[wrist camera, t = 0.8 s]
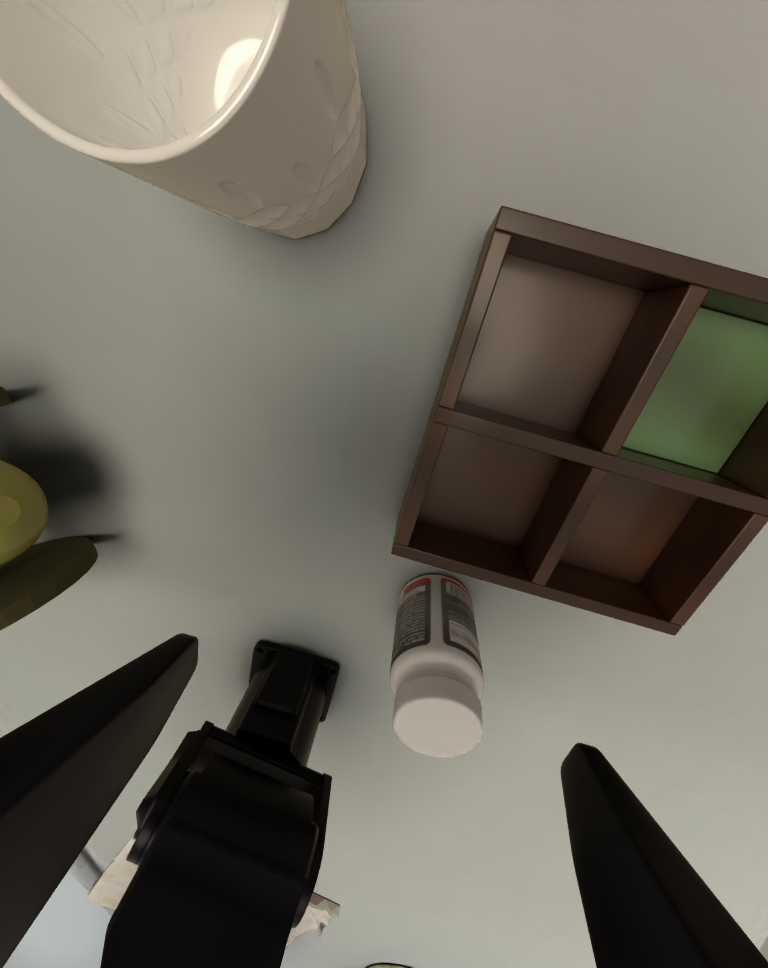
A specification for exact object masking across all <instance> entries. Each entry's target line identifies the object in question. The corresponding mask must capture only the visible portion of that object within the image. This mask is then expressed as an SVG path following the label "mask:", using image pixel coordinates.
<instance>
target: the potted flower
mask: <svg viewBox="0 0 768 968" xmlns="http://www.w3.org/2000/svg"><path fill="white" fill-rule="evenodd" d="M135 833H136V832H135ZM134 835H135V834H134ZM134 835H133V836H132V837H131V839H130V840H129V841H128V842H127V844H126V845H125V846H124V848H123V849H122V850H121V852H120V853H119V854H118V855H117V856H116V858H115V859H114V861H115V862H112V863H111V864H110V865H109V866H108V868H107V869H106V870H105V871H104V873H103V874H102V875H101V876H100V878H99V879H98V880H97V882H96V883H95V884H94V886H93V887H92V888H91V890H90V892H89V893H88V895H87V897H86V899H89V900H91V901H93V902H96V903H98V904H100V905H102V906H105V907H108V908H112V909H113V910H116V908H117V906H118V904H119V902H120V900H121V899H122V897H123V895H124V893H125V891H126V889H127V887H128V886H129V884H130V882H131V880H132V878H133V876H134V875H135V873H136V871H137V869H138V868H137V867H138V865H136V864H134V863H131V862H129V861H126V858H127V855H128V854H129V852H130V850H131V848H132V846H133V844H134V842H135V839H133V837H134ZM339 908H340V906H339V905H337V904H335V903H333V902H331V901H329V900H327V899H325V898H323V897H321V896H319V895H316V894H314V893H313V894H312V896H311V899H310V902H309V905H308V907H307V909H306V911H305V914H304V916H303V918H302V920H301V921H300V923H299V924H298V926H297V927H296V928H291V932H290V935H289V938H288V941H287V944H286V947H287V946H288V945H289V944H290V943H291V942H292V941H293V940H294V939H295V937H296V936H297V935H299V934H302V933H304V932H305V931H314V930H316V929H317V928H318V932H319V936H321V934H322V930H323V928H324V927H325V926H328V925H329V923H330V920H331V918H332V917H335V916H338V914H339Z"/></svg>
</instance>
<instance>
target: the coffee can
mask: <svg viewBox="0 0 768 968" xmlns="http://www.w3.org/2000/svg"><path fill="white" fill-rule="evenodd" d="M367 968H406V967H403V966H398V965H389V964H379V965H373V966H369V967H367Z"/></svg>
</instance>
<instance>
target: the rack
mask: <svg viewBox="0 0 768 968" xmlns="http://www.w3.org/2000/svg"><path fill="white" fill-rule="evenodd" d="M767 521H768V278H764V277H760V276H757V275H753V274H749V273H746V272H742V271H738V270H735V269H731V268H727V267H724V266H720V265H717V264H713V263H709V262H706V261H702V260H698V259H695V258H691V257H687V256H684V255H680V254H676V253H673V252H669V251H665V250H662V249H658V248H655V247H651V246H647V245H644V244H640V243H636V242H633V241H629V240H625V239H622V238H618V237H614V236H611V235H607V234H603V233H600V232H596V231H593V230H589V229H585V228H582V227H578V226H574V225H571V224H567V223H563V222H560V221H556V220H552V219H549V218H545V217H541V216H538V215H534V214H531V213H527V212H523V211H520V210H516V209H512V208H509V207H505V206H501V208H500V210H499V211H498V213H497V215H496V217H495V219H494V221H493V222H492V224H491V226H490V228H489V230H488V231H487V234H486V237H485V240H484V243H483V247H482V250H481V253H480V256H479V259H478V263H477V266H476V269H475V272H474V275H473V279H472V282H471V285H470V288H469V292H468V295H467V298H466V301H465V304H464V308H463V311H462V314H461V317H460V320H459V324H458V327H457V330H456V333H455V337H454V340H453V343H452V346H451V349H450V353H449V356H448V359H447V362H446V365H445V369H444V372H443V375H442V378H441V382H440V385H439V388H438V391H437V394H436V398H435V401H434V404H433V407H432V410H431V414H430V417H429V420H428V423H427V426H426V430H425V433H424V436H423V439H422V443H421V446H420V449H419V452H418V455H417V459H416V462H415V465H414V468H413V471H412V475H411V478H410V481H409V484H408V488H407V491H406V494H405V497H404V500H403V504H402V507H401V510H400V513H399V516H398V520H397V525H396V530H395V536H394V541H393V546H392V552H391V553H392V554H394V555H397V556H401V557H404V558H408V559H411V560H415V561H418V562H422V563H425V564H429V565H432V566H435V567H439V568H442V569H446V570H449V571H453V572H456V573H460V574H463V575H467V576H470V577H473V578H477V579H480V580H484V581H487V582H491V583H494V584H498V585H501V586H505V587H508V588H512V589H515V590H518V591H522V592H525V593H529V594H532V595H536V596H539V597H543V598H546V599H550V600H553V601H557V602H560V603H563V604H567V605H570V606H574V607H577V608H581V609H584V610H588V611H591V612H595V613H598V614H601V615H605V616H608V617H612V618H615V619H619V620H622V621H626V622H629V623H633V624H636V625H640V626H643V627H646V628H650V629H653V630H657V631H660V632H664V633H667V634H671V635H676V634H677V633H678V631H679V630H680V629H681V628H682V626H683V625H684V624H685V623H686V622H687V621H688V619H689V618H690V617H691V616H692V614H693V613H694V612H695V611H696V609H697V608H698V607H699V606H700V604H701V603H702V602H703V601H704V599H705V598H706V597H707V596H708V595H709V593H710V592H711V591H712V590H713V588H714V587H715V586H716V585H717V583H718V582H719V581H720V580H721V578H722V577H723V576H724V575H725V573H726V572H727V571H728V570H729V569H730V567H731V566H732V565H733V564H734V562H735V561H736V560H737V559H738V557H739V556H740V555H741V554H742V552H743V551H744V550H745V549H746V547H747V546H748V545H749V544H750V543H751V541H752V540H753V539H754V538H755V536H756V535H757V534H758V533H759V531H760V530H761V529H762V528H763V526H764V525H765V524H766V523H767Z"/></svg>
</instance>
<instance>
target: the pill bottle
mask: <svg viewBox="0 0 768 968" xmlns="http://www.w3.org/2000/svg"><path fill="white" fill-rule="evenodd" d="M390 683H391V688H392V691H393V693H394V695H395V701H394V714H393V727H394V731H395V733H396V735H397V736H398V738H399V739H400V740H401V741H402V742H403V743H404V744H405V745H406V746H408V747H409V748H411V749H412V750H414V751H416V752H419V753H421V754H424V755H427V756H433V757H441V758H449V757H455V756H460V755H462V754H465V753H468V752H469V751H471V750H473V749H474V748H475V747H476V746H477V745H478V744H479V742H480V741H481V738H482V735H483V723H482V708H481V703H480V699H481V697H482V693H483V688H484V680H483V671H482V666H481V659H480V653H479V646H478V640H477V634H476V627H475V620H474V613H473V606H472V602H471V598H470V595H469V593H468V592H467V590H466V589H465V588H464V587H463V586H462V585H461V584H460V583H459V582H457V581H456V580H454V579H452V578H449V577H446V576H442V575H434V574H432V575H424V576H420V577H418V578H415V579H413V580H412V581H410V582H409V583H408V584H407V585H406V586H405V587H404V589H403V590H402V592H401V594H400V597H399V602H398V610H397V618H396V627H395V636H394V645H393V653H392V662H391V670H390Z"/></svg>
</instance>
